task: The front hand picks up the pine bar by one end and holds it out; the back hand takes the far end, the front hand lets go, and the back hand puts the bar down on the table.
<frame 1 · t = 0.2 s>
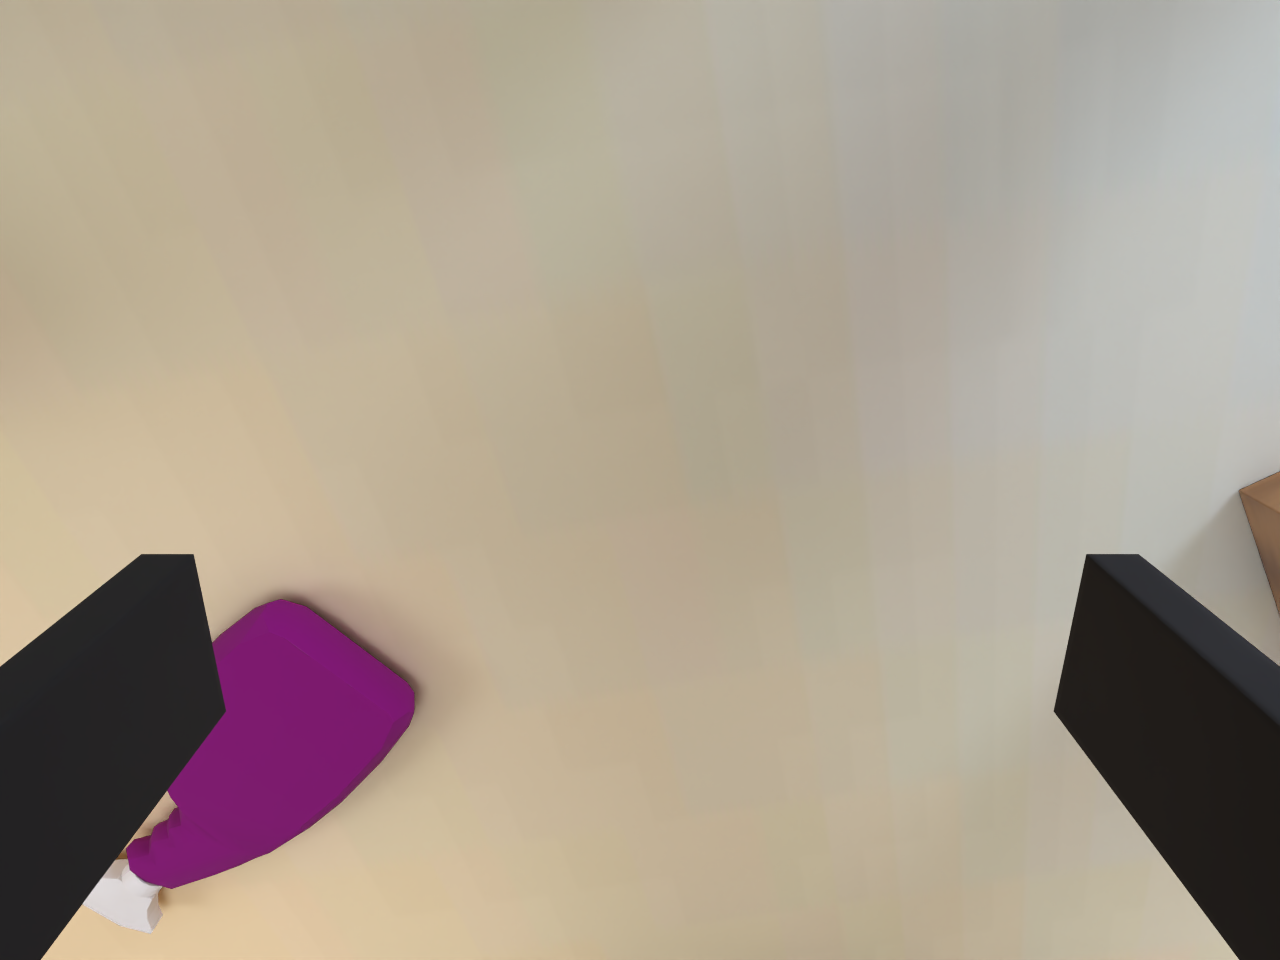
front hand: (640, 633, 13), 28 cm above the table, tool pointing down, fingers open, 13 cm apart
spray bottle: (226, 769, 48), on the table
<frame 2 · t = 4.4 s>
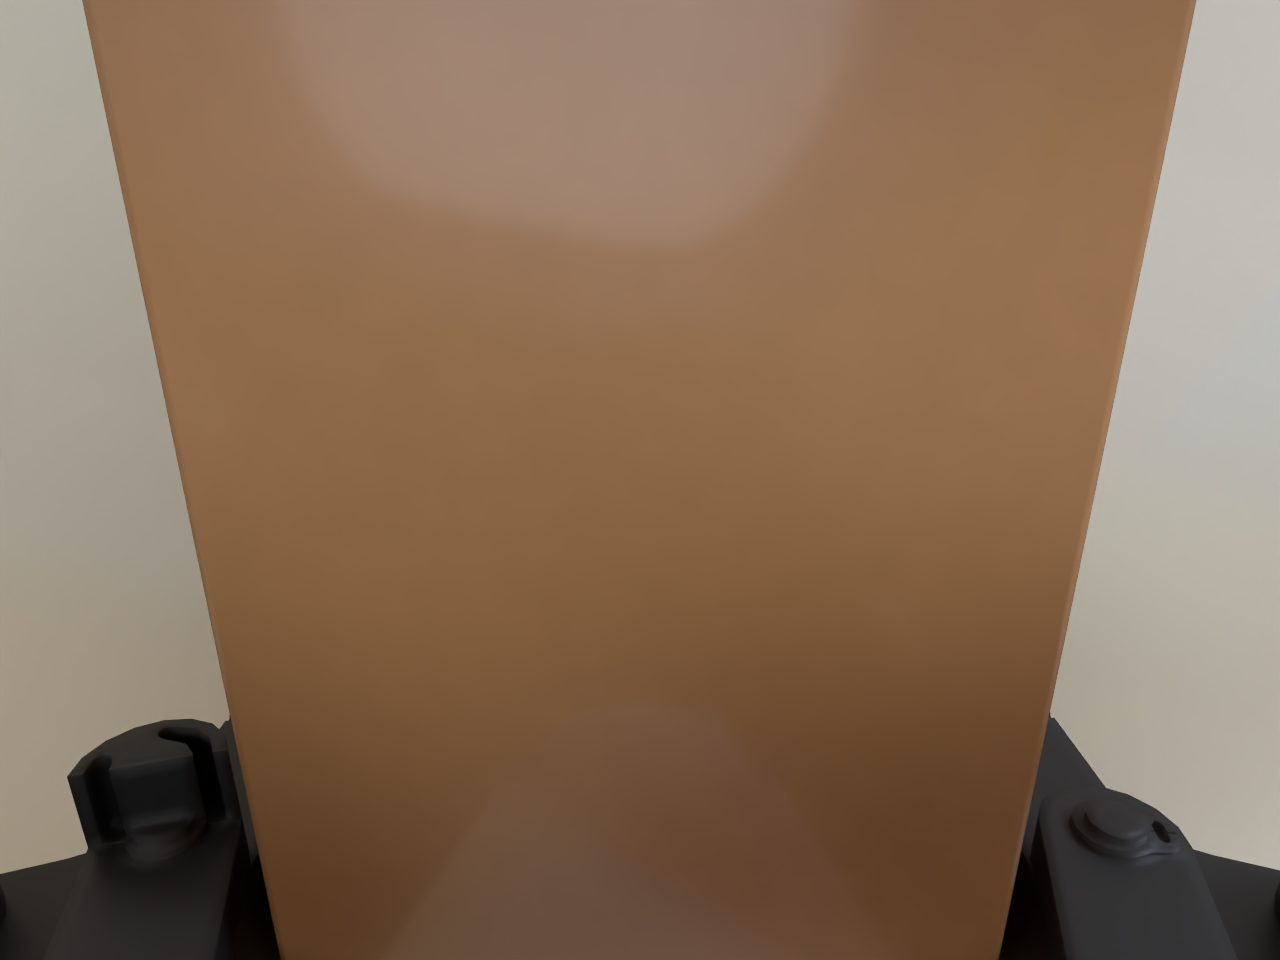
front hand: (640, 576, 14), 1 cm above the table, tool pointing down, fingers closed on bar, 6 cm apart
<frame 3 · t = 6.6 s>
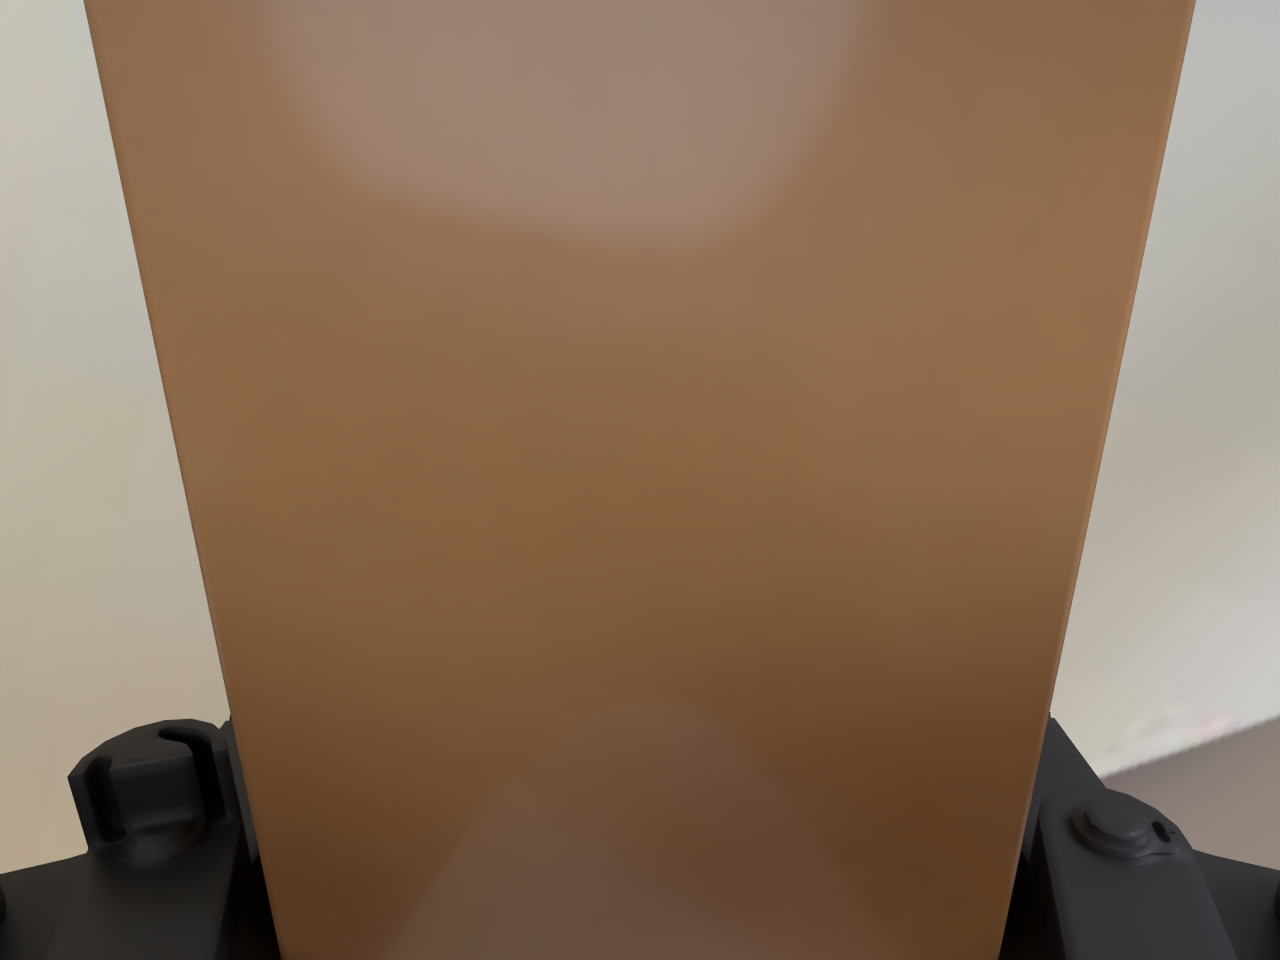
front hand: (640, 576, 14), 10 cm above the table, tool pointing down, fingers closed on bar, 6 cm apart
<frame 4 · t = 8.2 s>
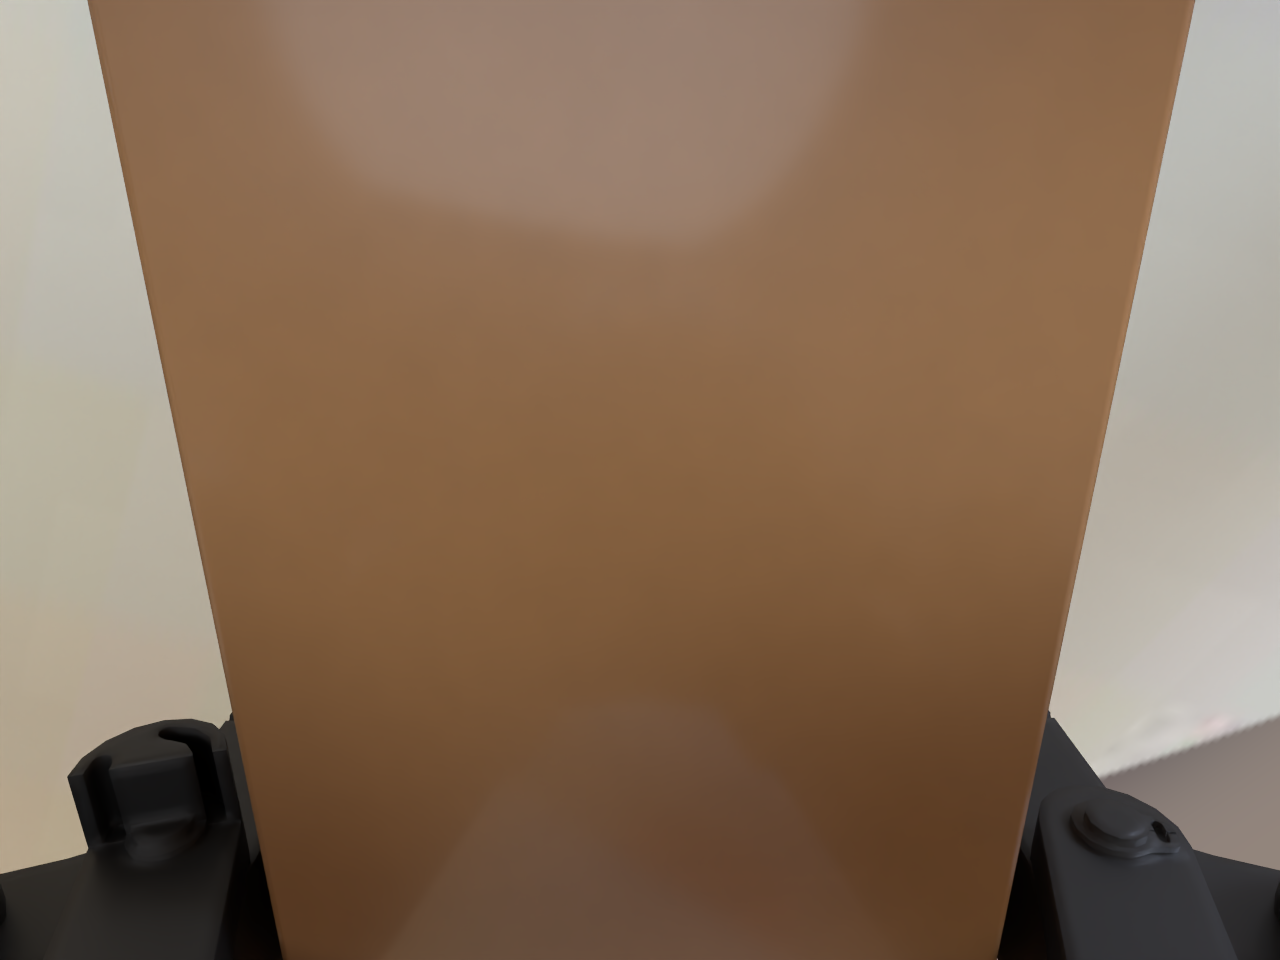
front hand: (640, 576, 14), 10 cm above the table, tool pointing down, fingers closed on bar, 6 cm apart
when the front hand's fingers open (10 cm above the table, at t = 9.3 s): bar stays where it is, held by the back hand.
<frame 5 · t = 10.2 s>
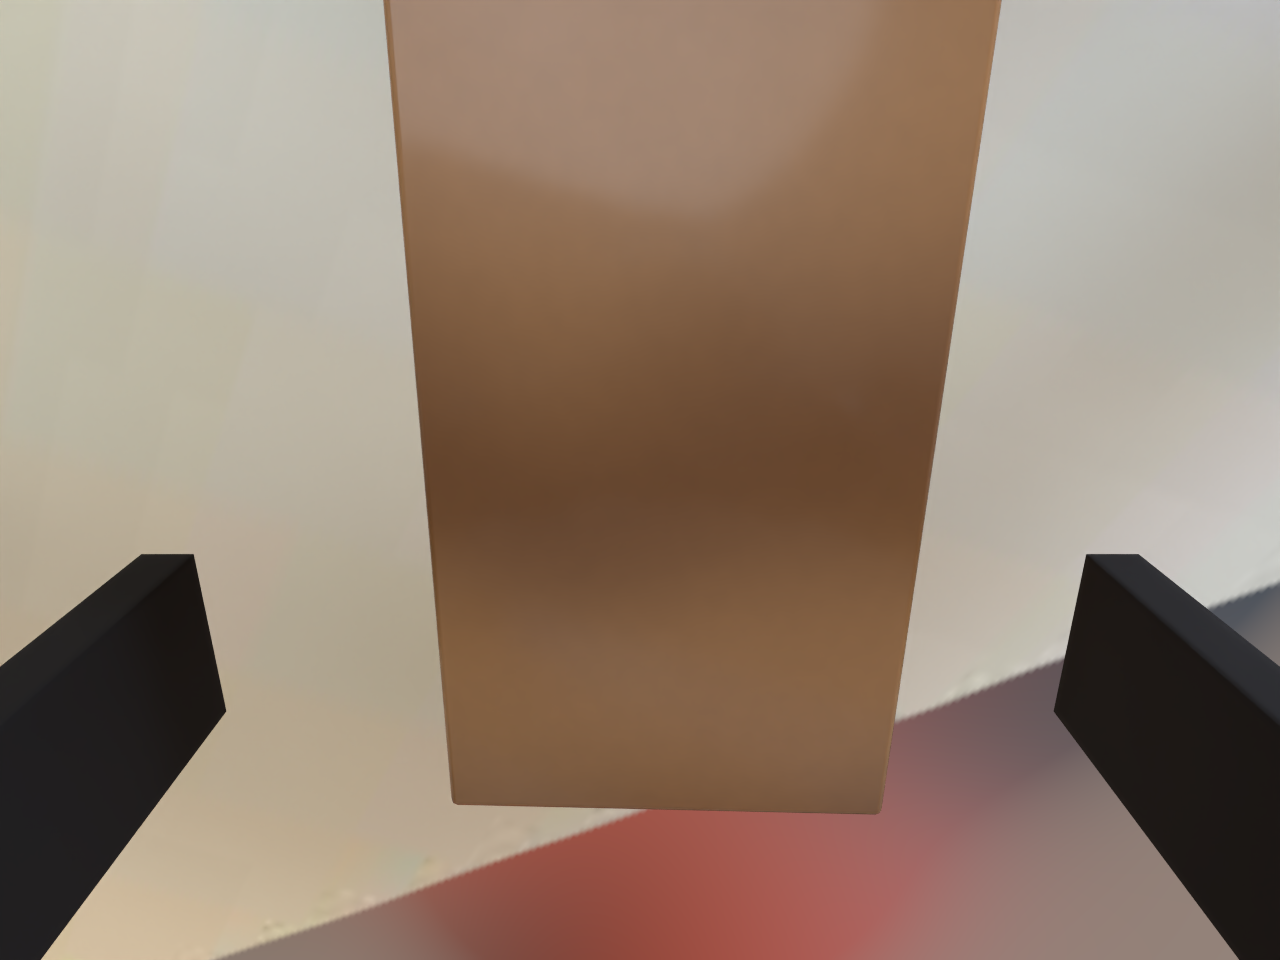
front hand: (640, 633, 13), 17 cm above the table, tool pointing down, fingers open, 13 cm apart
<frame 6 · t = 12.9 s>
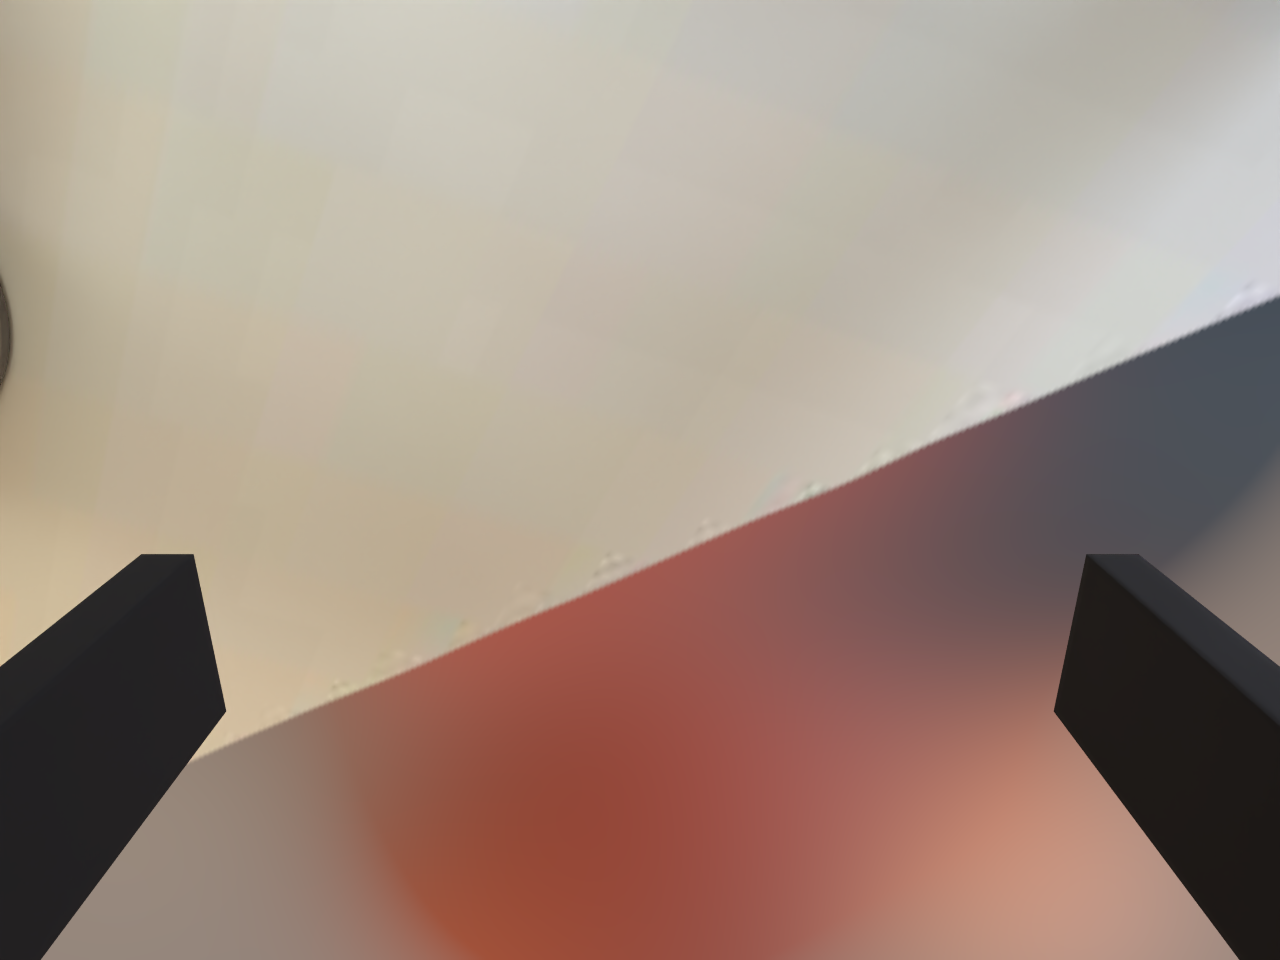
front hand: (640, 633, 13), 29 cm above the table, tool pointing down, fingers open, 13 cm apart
when the back hand's fingers open (5 cm above the table, at t = 17.9 s): bar drops 1 cm, on the table.
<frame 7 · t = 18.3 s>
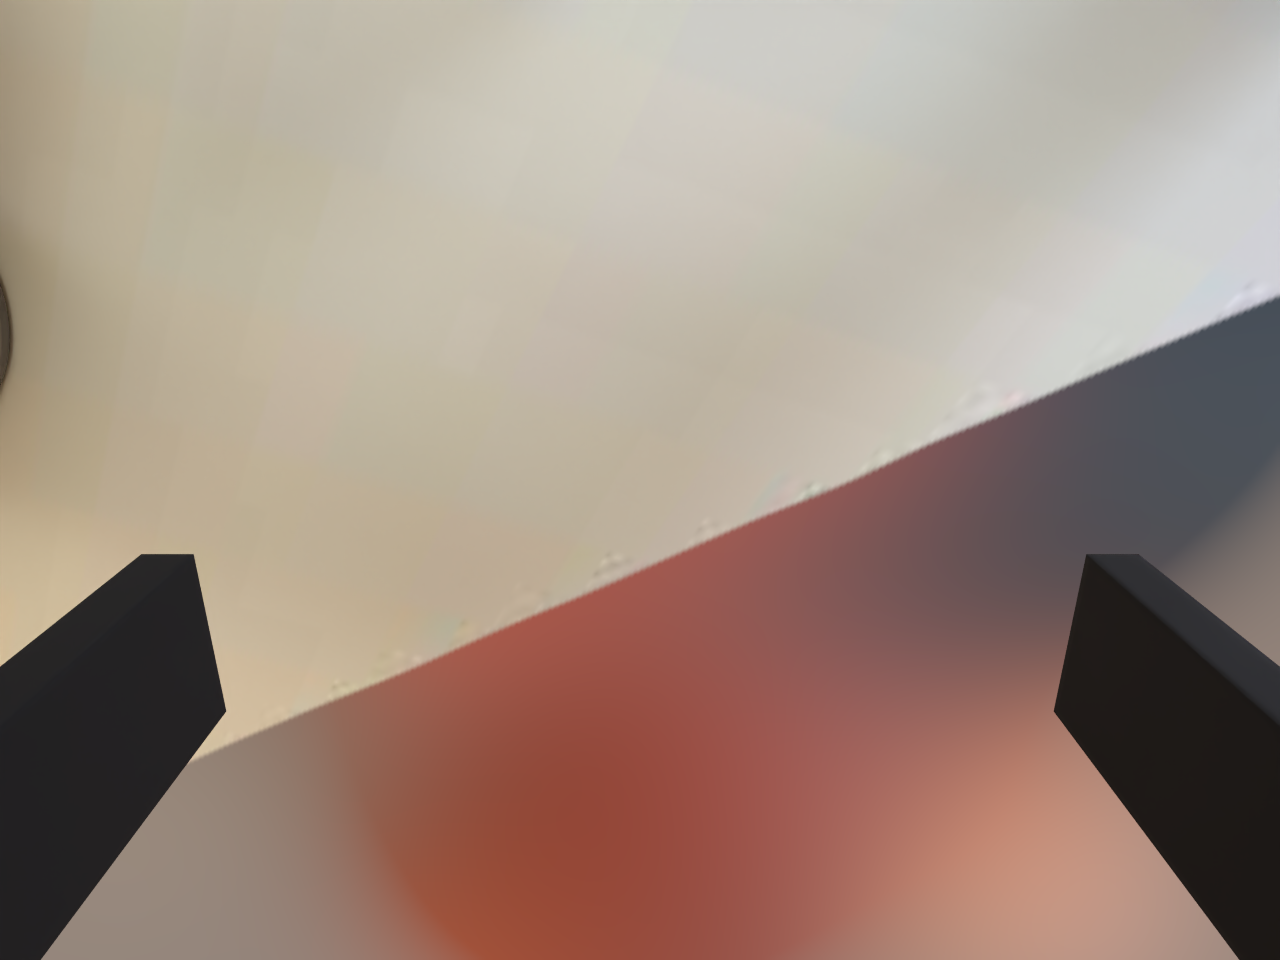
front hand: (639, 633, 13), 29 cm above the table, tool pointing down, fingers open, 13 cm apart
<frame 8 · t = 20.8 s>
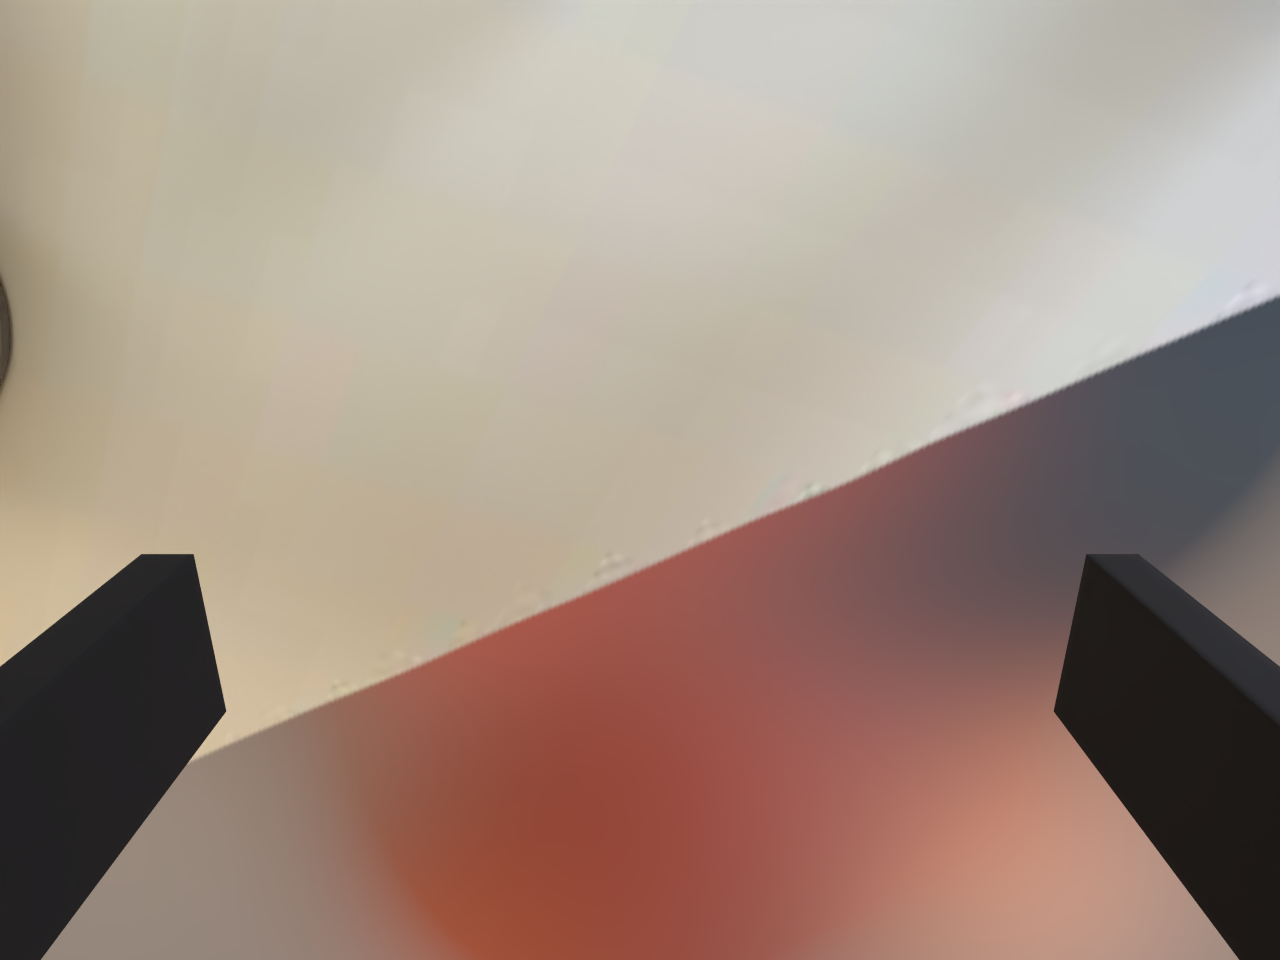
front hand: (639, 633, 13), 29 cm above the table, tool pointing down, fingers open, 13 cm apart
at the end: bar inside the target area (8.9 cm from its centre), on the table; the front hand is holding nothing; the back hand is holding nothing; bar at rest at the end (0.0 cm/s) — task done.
